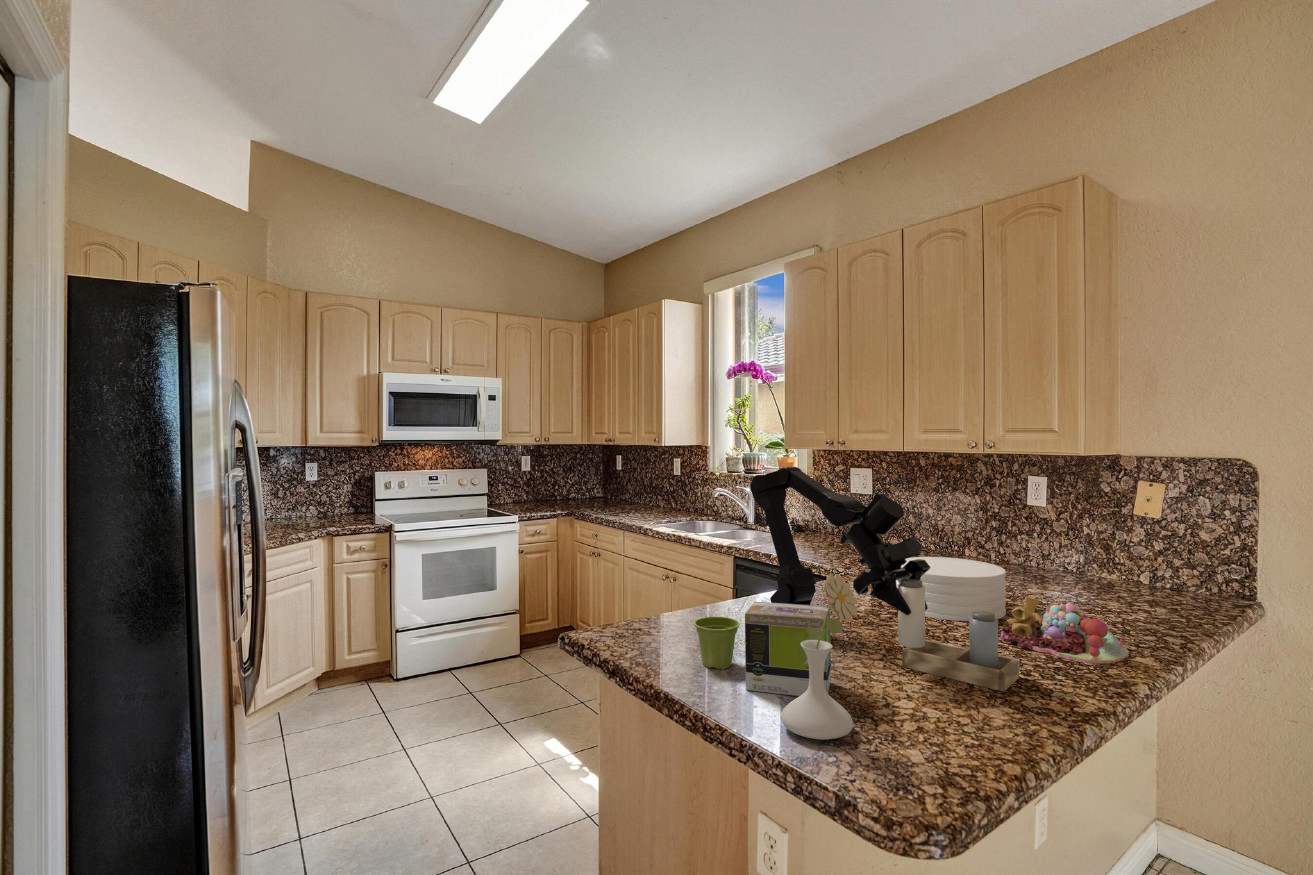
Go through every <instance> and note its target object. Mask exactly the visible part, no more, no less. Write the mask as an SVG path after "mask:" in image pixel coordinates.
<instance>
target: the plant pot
mask: <svg viewBox="0 0 1313 875" xmlns="http://www.w3.org/2000/svg"><path fill="white" fill-rule="evenodd" d="M693 625H694V627H695V628H696V632H697V634H698V641H699V648H700V657H701V661H702V665H703V666H705V667H706V668H709V669H711V668H715V669H718V670H721V669H727V668H729V667H731V665H732V664H733V658H734V650H735V640H736V634H737V632H738V628H739V627H740V621H738V620H737V619H736V618H731V617H726V616H705V617H699V618H697V619H695V621H694V622H693Z"/></svg>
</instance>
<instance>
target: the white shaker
mask: <svg viewBox="0 0 1313 875" xmlns="http://www.w3.org/2000/svg"><path fill="white" fill-rule="evenodd" d="M898 590H899V592H900V593H901V595H902V597H903V598H904V600H905V601H906V603H907V605H908V606H909V608H910V610H911V614H909V615H906V614H904V613H902V612H901V611H899V610H897V611H898V612H897V614H898V615H897V618H898V619H897V621H898V622H897V624H898V626H897V627H898V628H897V630H898V631H897V632H898V633H897V638H898V639H897V642H898V644H899V645H900V646H904V647H913V648H920V647H924V646H925V639H926V616H925V586H923V585H922V581H921V580H917V579H902V580H901V584H898Z"/></svg>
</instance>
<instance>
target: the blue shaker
mask: <svg viewBox="0 0 1313 875" xmlns="http://www.w3.org/2000/svg"><path fill="white" fill-rule="evenodd" d="M968 622H969V625H968V627H969V628H968V629H969V631H968V634H969V636H968V637H969V639H968V641H969V643H968V646H969V648H968V649H969V663H971V664H975V665H980V666H984V667H988V668H993V669H997V670H998V655H999V620H998V619H995V614H993V613H990V612H984V611H974V612H972V616H970V617H969V621H968Z"/></svg>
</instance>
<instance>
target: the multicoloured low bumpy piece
mask: <svg viewBox="0 0 1313 875" xmlns="http://www.w3.org/2000/svg"><path fill="white" fill-rule="evenodd" d="M1037 606H1038V598H1037V597H1036V596H1034V595H1028V596H1025V597H1024V601H1023V605H1020V606H1019V605H1018V606H1016V607H1014V608H1013V609H1012V610H1011V611H1010V613H1011V614H1012V617H1014V618H1008V619H1006V621H1004V623H1003V625H1002V629H1001V631H1000V637H1001V638H1003V639H1004V640H1005V639H1006V641H1005V643H1009V642H1016V643H1017V644H1016V647H1018V648H1023V649H1027V650H1032V651H1035V652H1040V653H1045V654H1050V655H1051V654H1052V655H1053V656H1056V657H1058V658H1063V659H1066V660H1071V661H1077V662H1082V663H1085V664H1087V663H1088V664H1098V665H1099V664H1101V665H1102V664H1108V665H1109V664H1112V663H1114V664H1115V663H1117V662H1120V661H1124V660H1125V659H1126V658H1129V654H1130V651H1129V650H1128V649H1127V648H1125V647H1124V646H1123V643H1124V642H1123V641H1124V640H1123V637H1120V638H1117V637H1116V636H1115V635H1114V634H1113V633H1111V631H1109V628H1108V625H1107V624H1106V623H1105V622H1104V621H1103V620H1101V619H1098V618H1092V619H1090V618H1089V616H1087V615H1086V614H1085V613H1084V612H1082V610H1081V607H1079V606H1077V605H1075V604H1073V603H1072V602H1067V603H1066V604H1063V603H1060V604H1059V605H1058V604H1056V603H1054V604H1053V605H1051V606H1050V604H1048V605H1047V608H1046V610H1045V612H1044V613H1043V614H1042V611H1040V612H1039V611H1036V608H1037Z"/></svg>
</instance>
